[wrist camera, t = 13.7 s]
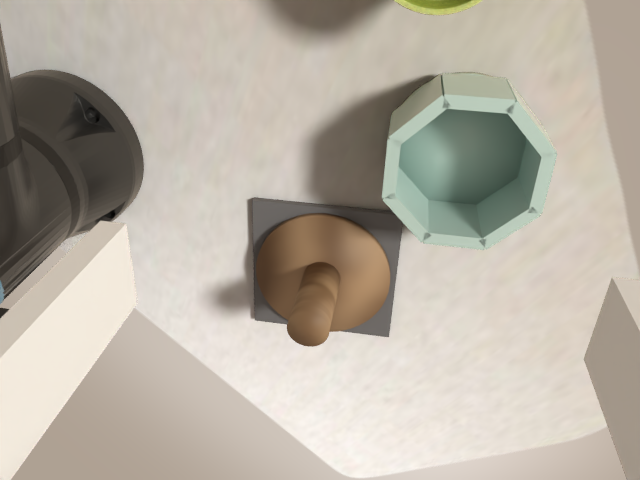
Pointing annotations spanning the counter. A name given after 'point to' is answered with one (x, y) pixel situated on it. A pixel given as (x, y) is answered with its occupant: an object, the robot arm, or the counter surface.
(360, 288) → the lid
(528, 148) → the bowl
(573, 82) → the counter surface
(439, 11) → the plant pot
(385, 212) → the mat
